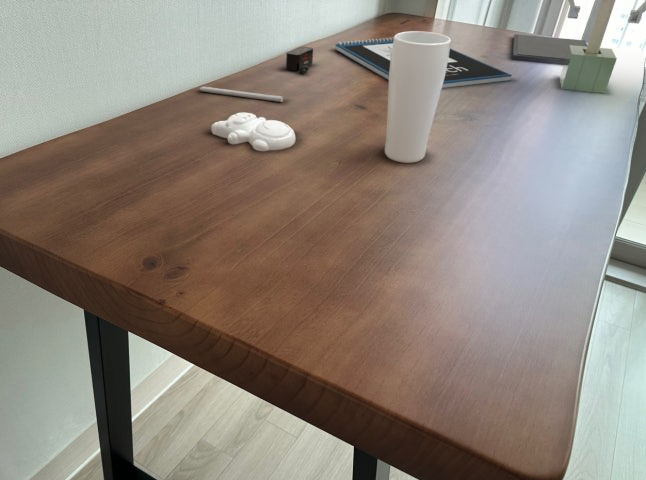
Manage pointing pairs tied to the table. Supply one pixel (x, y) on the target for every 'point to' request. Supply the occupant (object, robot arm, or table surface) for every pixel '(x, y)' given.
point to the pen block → (587, 69)
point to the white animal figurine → (255, 132)
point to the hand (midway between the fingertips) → (602, 20)
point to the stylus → (600, 26)
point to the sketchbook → (457, 73)
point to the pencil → (242, 94)
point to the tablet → (542, 48)
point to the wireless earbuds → (299, 59)
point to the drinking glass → (414, 92)
